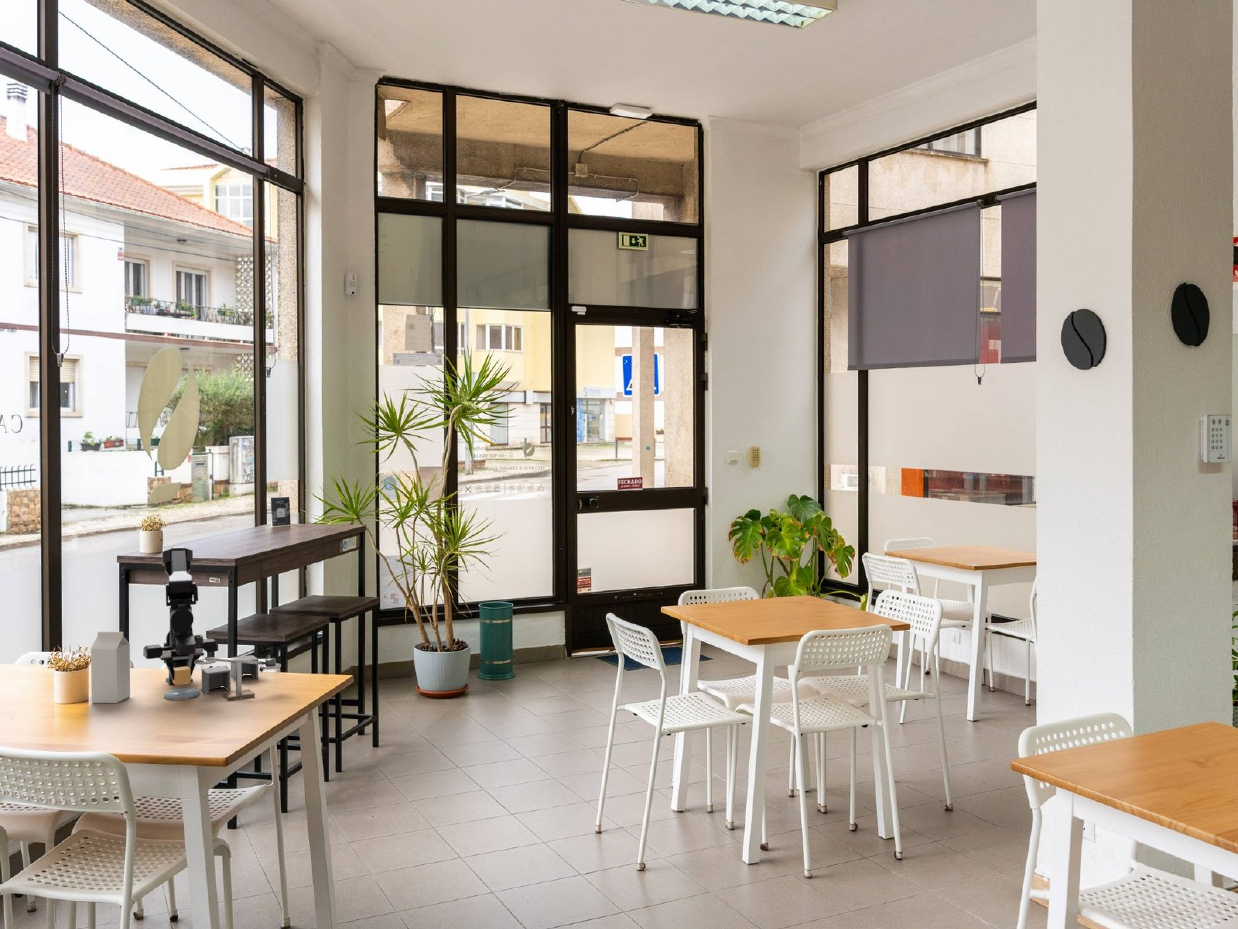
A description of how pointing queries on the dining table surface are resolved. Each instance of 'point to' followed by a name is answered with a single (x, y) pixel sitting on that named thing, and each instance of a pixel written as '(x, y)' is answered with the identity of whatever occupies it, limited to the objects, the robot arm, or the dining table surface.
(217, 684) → the grey cube box
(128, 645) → the milk carton
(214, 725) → the dining table surface
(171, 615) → the robot arm
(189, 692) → the slate dish
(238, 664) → the balance scale
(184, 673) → the orange block
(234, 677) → the hiding cup
